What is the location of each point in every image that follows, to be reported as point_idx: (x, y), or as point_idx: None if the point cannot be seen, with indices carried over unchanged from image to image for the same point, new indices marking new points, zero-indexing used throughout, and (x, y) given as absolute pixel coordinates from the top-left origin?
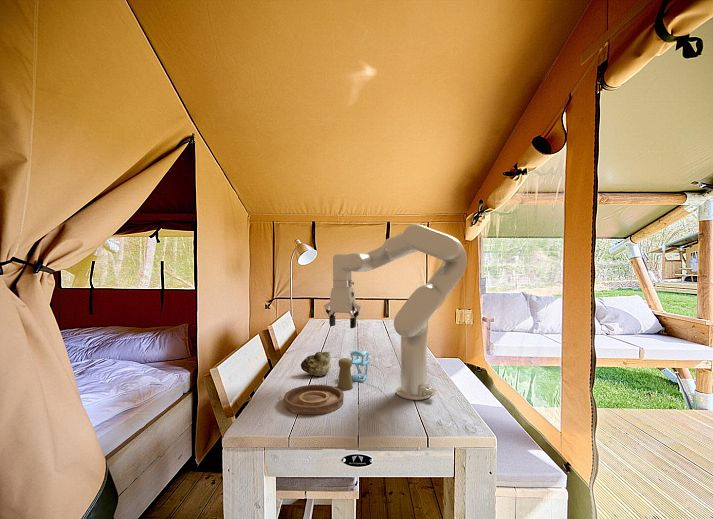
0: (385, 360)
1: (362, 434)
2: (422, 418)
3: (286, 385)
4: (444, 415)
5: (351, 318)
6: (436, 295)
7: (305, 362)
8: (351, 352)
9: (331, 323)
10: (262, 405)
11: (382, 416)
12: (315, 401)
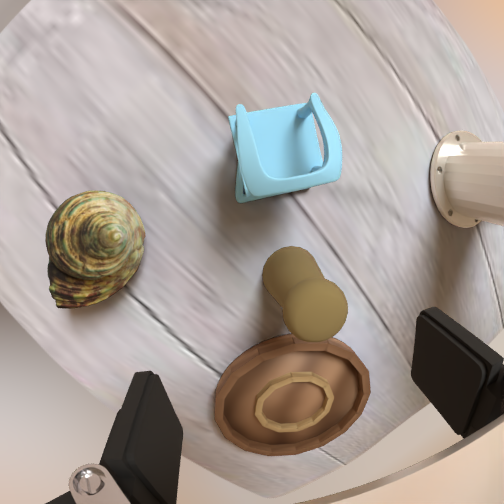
0: None
1: None
2: (497, 286)
3: (131, 374)
4: None
5: (474, 432)
6: None
7: (72, 306)
8: (259, 190)
9: (180, 451)
10: (212, 457)
11: None
12: (319, 417)
